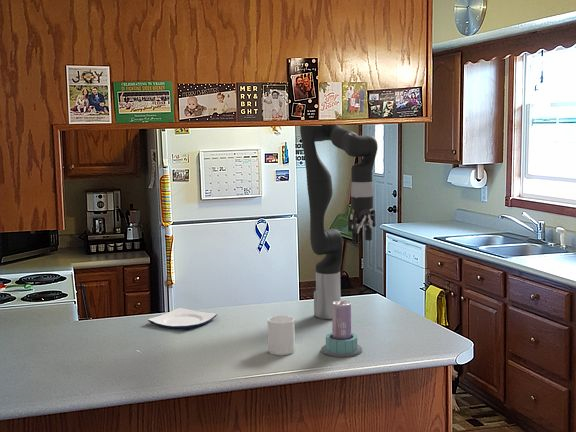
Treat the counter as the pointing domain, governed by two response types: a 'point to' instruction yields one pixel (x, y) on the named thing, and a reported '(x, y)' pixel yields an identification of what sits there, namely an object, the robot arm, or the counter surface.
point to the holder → (341, 347)
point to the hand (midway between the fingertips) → (362, 242)
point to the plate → (182, 319)
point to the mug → (281, 335)
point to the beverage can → (341, 320)
